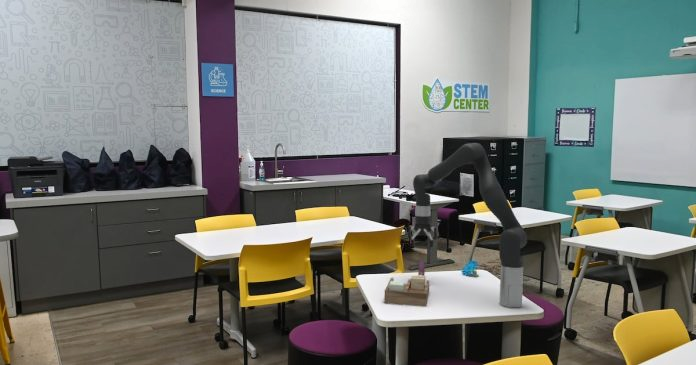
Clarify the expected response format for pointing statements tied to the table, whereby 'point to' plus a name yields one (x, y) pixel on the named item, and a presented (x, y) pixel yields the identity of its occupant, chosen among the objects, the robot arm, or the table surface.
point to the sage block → (396, 286)
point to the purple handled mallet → (419, 278)
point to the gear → (470, 268)
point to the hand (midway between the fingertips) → (422, 247)
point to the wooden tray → (407, 295)
